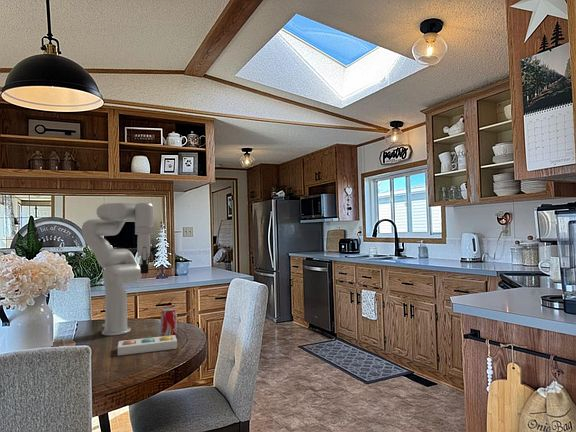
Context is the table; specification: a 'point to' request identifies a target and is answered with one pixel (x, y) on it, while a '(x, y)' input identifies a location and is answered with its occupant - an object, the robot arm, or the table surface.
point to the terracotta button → (129, 342)
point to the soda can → (168, 322)
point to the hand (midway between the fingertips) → (144, 273)
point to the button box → (147, 345)
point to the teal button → (147, 340)
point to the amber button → (165, 338)
